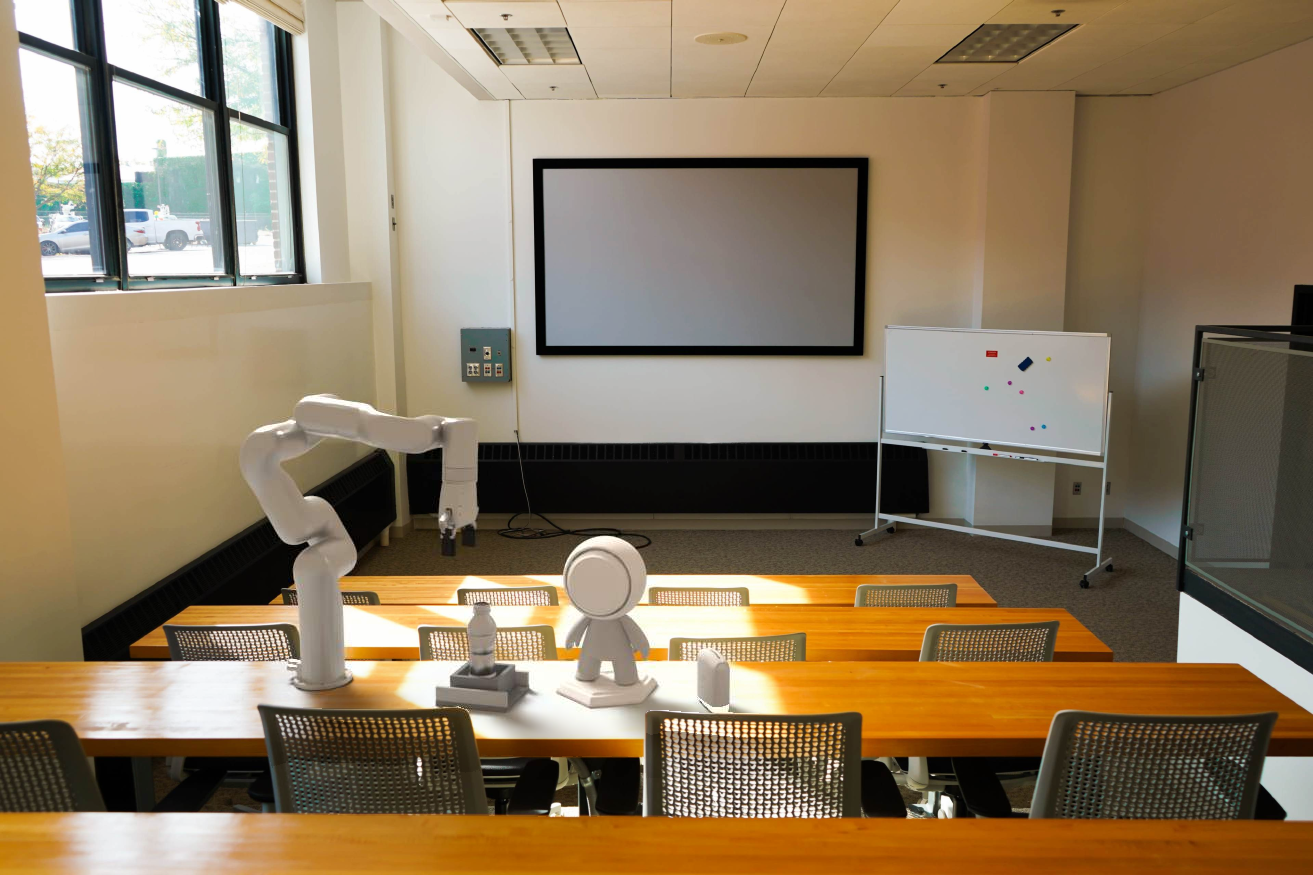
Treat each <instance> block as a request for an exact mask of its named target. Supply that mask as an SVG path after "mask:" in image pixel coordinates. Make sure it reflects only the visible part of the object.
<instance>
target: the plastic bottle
mask: <svg viewBox="0 0 1313 875" xmlns="http://www.w3.org/2000/svg"><path fill="white" fill-rule="evenodd" d="M472 606H473V608H472V609H473V610H472V613H473V616H472V617H471V619H470V620H469V622H468V623H467V627H466V632H467V638H468V640H467V641H468V645H469V660H470V668H469V675H468V676H475V677H486V678H496V677H497V673H496V668H495V663H496V660H495V658H496V657H495V651H496V648H495V647H496V637H497V629H498V628H497V623H496V622H495V620H494V618H493V617H492V616H491V614H490V613H491V610H492V609H491V603H490V602H489V601H483V600H482V601H476V602H474V603H473V605H472Z"/></svg>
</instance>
